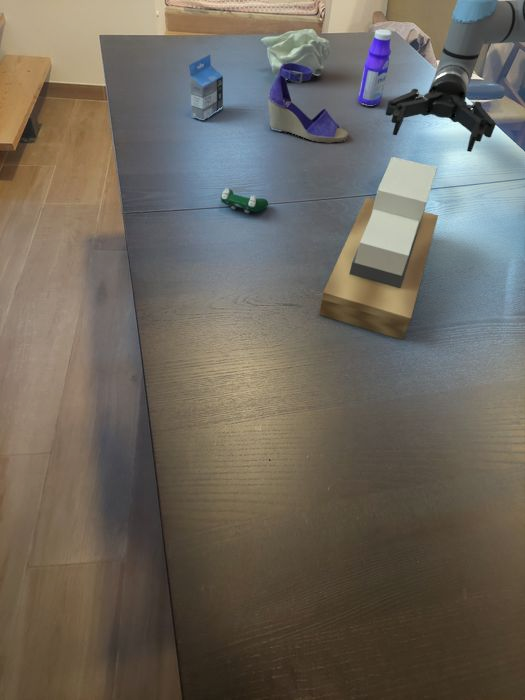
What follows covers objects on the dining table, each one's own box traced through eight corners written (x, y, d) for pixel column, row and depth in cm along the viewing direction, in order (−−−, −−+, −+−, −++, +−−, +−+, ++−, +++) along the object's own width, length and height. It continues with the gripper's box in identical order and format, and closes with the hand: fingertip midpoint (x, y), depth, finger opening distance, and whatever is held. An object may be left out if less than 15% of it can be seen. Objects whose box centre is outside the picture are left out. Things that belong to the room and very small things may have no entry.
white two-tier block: (421, 216, 96) (438, 167, 88) (400, 288, 82) (418, 237, 74) (377, 205, 97) (390, 156, 90) (349, 274, 83) (361, 222, 76)
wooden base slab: (430, 236, 100) (438, 215, 96) (402, 340, 81) (411, 318, 77) (361, 218, 103) (366, 196, 99) (318, 314, 84) (323, 292, 80)
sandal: (342, 149, 121) (354, 83, 110) (263, 132, 125) (267, 66, 113) (349, 134, 127) (361, 70, 115) (273, 118, 130) (278, 54, 119)
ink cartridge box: (204, 122, 126) (202, 69, 117) (191, 118, 127) (188, 65, 118) (223, 109, 132) (223, 57, 122) (210, 105, 133) (209, 54, 123)
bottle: (372, 110, 137) (388, 38, 123) (353, 104, 138) (367, 32, 125) (383, 101, 141) (400, 30, 128) (365, 95, 143) (379, 25, 130)
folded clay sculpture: (277, 104, 151) (258, 57, 138) (278, 75, 157) (259, 28, 144) (337, 85, 145) (322, 34, 132) (335, 56, 150) (321, 4, 138)
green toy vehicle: (223, 208, 105) (214, 200, 100) (228, 190, 105) (219, 181, 99) (264, 219, 104) (257, 212, 98) (270, 201, 103) (263, 193, 97)
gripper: (502, 123, 106) (495, 171, 92) (384, 99, 110) (362, 140, 97) (517, 85, 100) (513, 130, 87) (392, 61, 105) (370, 100, 91)
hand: (433, 136), depth 92 cm, fingers open, 13 cm apart
